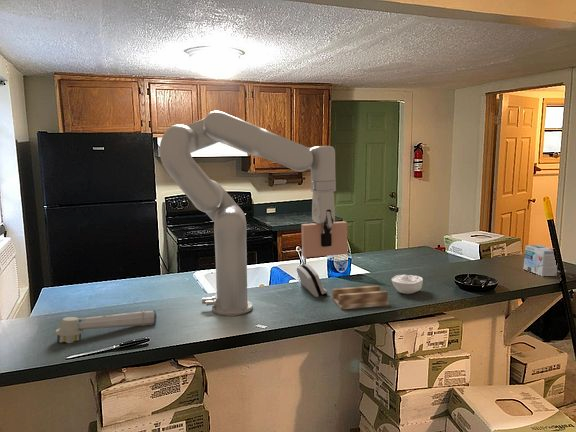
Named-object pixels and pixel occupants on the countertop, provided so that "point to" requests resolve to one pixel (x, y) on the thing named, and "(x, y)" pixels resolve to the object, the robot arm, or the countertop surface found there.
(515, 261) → the countertop surface
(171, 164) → the robot arm
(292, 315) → the countertop surface
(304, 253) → the door panel
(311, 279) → the grey rounded piece
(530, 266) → the light bulb box
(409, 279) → the white bowl
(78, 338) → the beige mallet
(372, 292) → the guide track
